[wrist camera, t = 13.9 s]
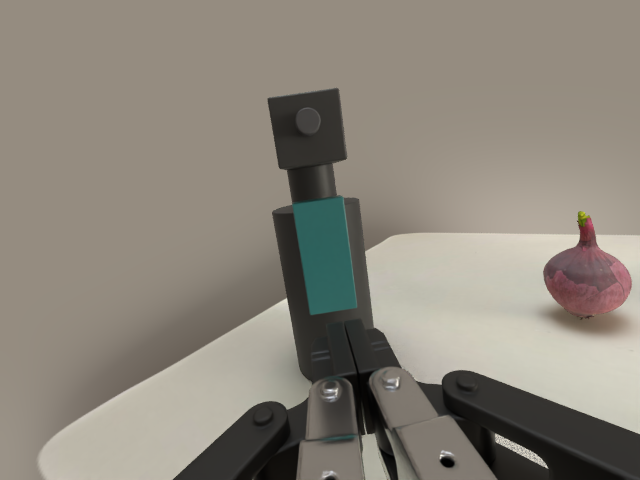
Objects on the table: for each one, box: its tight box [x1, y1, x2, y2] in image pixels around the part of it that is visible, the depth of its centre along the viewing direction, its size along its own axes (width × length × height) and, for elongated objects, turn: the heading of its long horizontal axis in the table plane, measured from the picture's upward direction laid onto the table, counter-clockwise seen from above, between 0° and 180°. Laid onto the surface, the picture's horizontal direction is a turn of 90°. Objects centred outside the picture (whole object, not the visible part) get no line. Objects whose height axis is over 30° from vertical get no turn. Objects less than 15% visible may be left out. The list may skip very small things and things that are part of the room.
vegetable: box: [543, 211, 632, 319], centre depth 28 cm, size 6×6×10 cm
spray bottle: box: [268, 88, 374, 381], centre depth 23 cm, size 13×7×20 cm, turn 3°
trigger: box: [292, 195, 357, 315], centre depth 19 cm, size 1×3×7 cm, turn 93°
